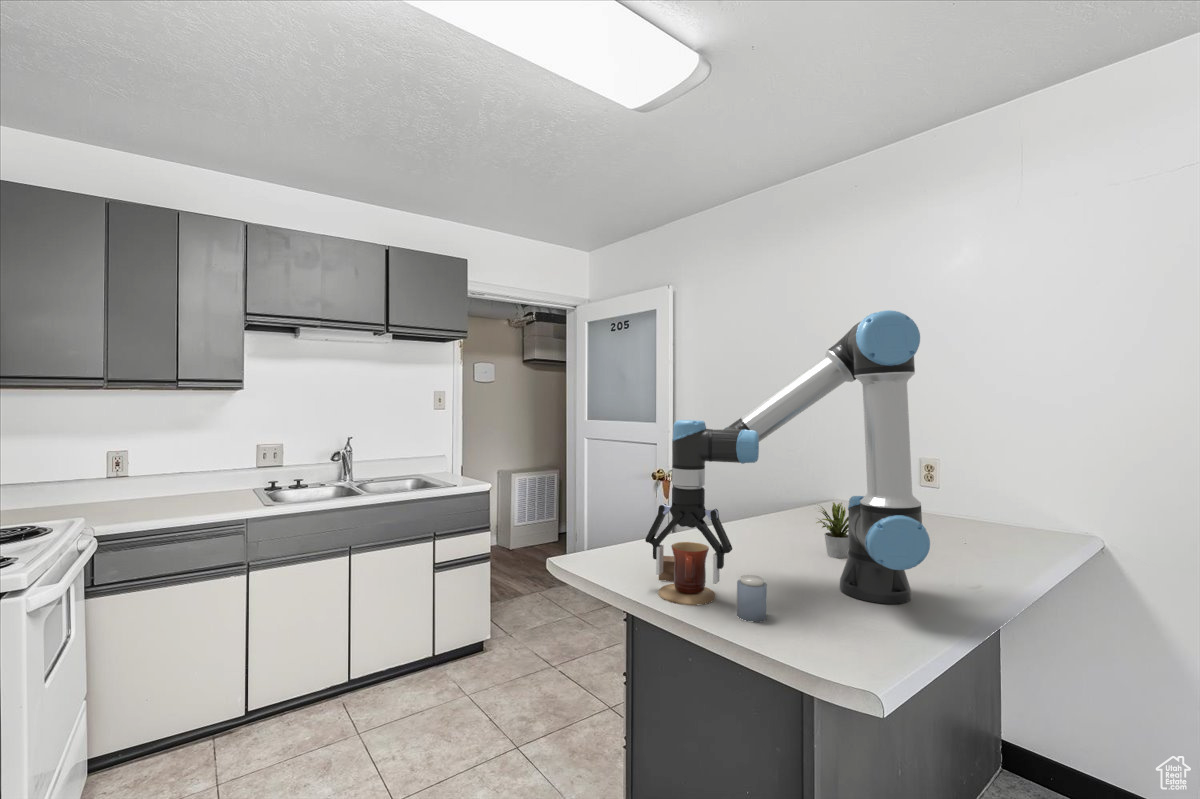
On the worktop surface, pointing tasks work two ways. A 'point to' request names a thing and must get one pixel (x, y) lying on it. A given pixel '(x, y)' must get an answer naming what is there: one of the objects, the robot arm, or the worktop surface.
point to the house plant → (836, 532)
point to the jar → (751, 598)
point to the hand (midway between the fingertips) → (687, 577)
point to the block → (667, 569)
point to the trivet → (686, 596)
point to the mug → (689, 567)
